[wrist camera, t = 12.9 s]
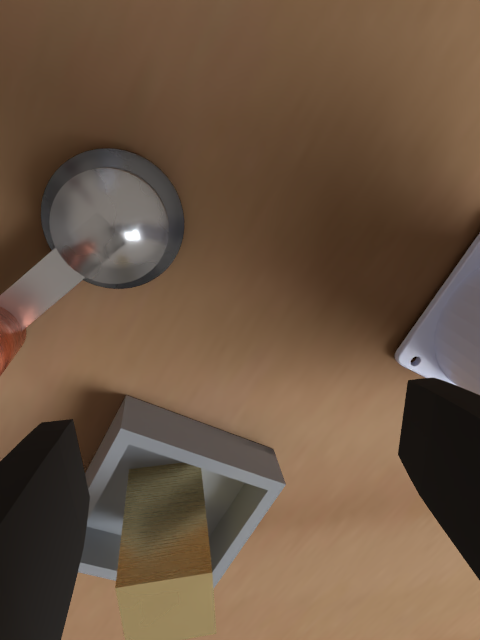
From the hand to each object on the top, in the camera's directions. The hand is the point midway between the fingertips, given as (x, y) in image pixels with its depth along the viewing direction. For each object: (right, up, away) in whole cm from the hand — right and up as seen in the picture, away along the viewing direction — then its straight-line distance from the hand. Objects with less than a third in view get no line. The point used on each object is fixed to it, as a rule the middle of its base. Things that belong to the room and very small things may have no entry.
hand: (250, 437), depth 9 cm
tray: (-4, -6, +13) cm, 14 cm away
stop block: (-4, -6, +12) cm, 14 cm away
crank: (-7, +5, +7) cm, 11 cm away
